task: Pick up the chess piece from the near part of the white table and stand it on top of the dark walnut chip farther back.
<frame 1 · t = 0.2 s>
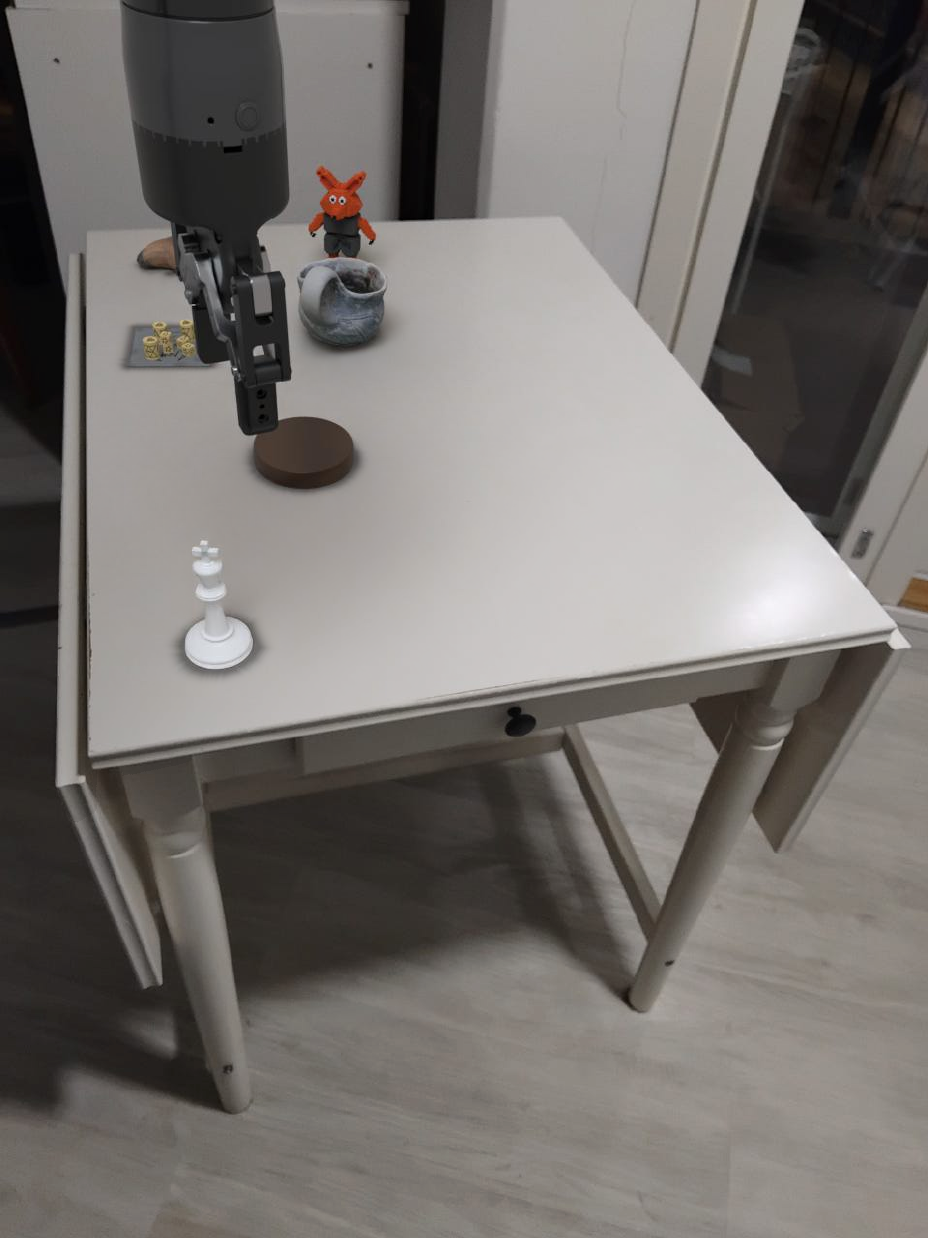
hand: (237, 393, 58), 20 cm above the table, tool pointing down, fingers open, 8 cm apart
mug: (339, 345, 104), on the table
brown rounded lump: (182, 268, 114), on the table
dice set: (172, 348, 100), on the table
toy animal: (340, 278, 115), on the table
chess piece: (219, 647, 71), on the table
walnut chip: (304, 459, 88), on the table
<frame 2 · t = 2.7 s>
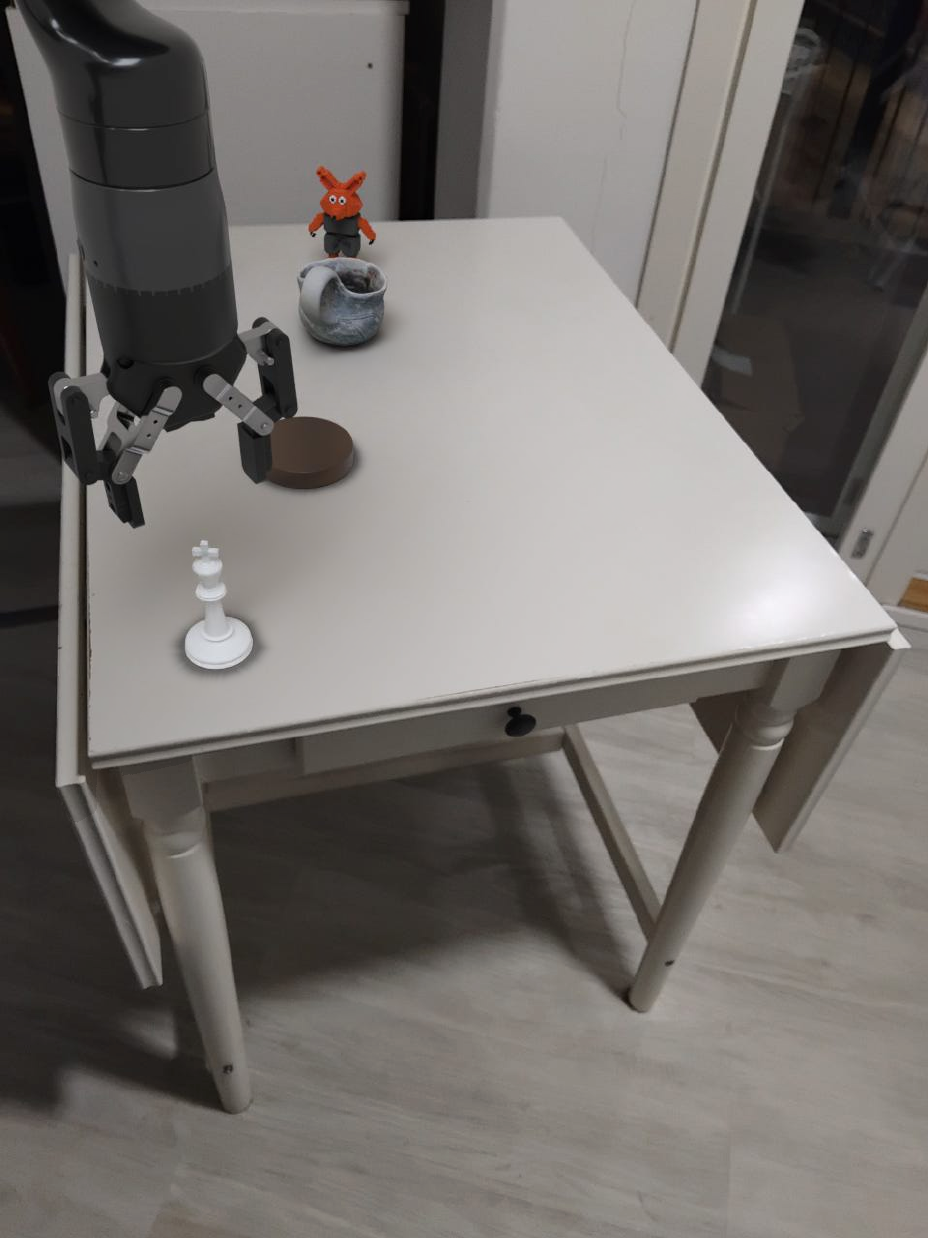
hand: (196, 497, 61), 14 cm above the table, tool pointing down, fingers open, 8 cm apart
nothing on the table moved.
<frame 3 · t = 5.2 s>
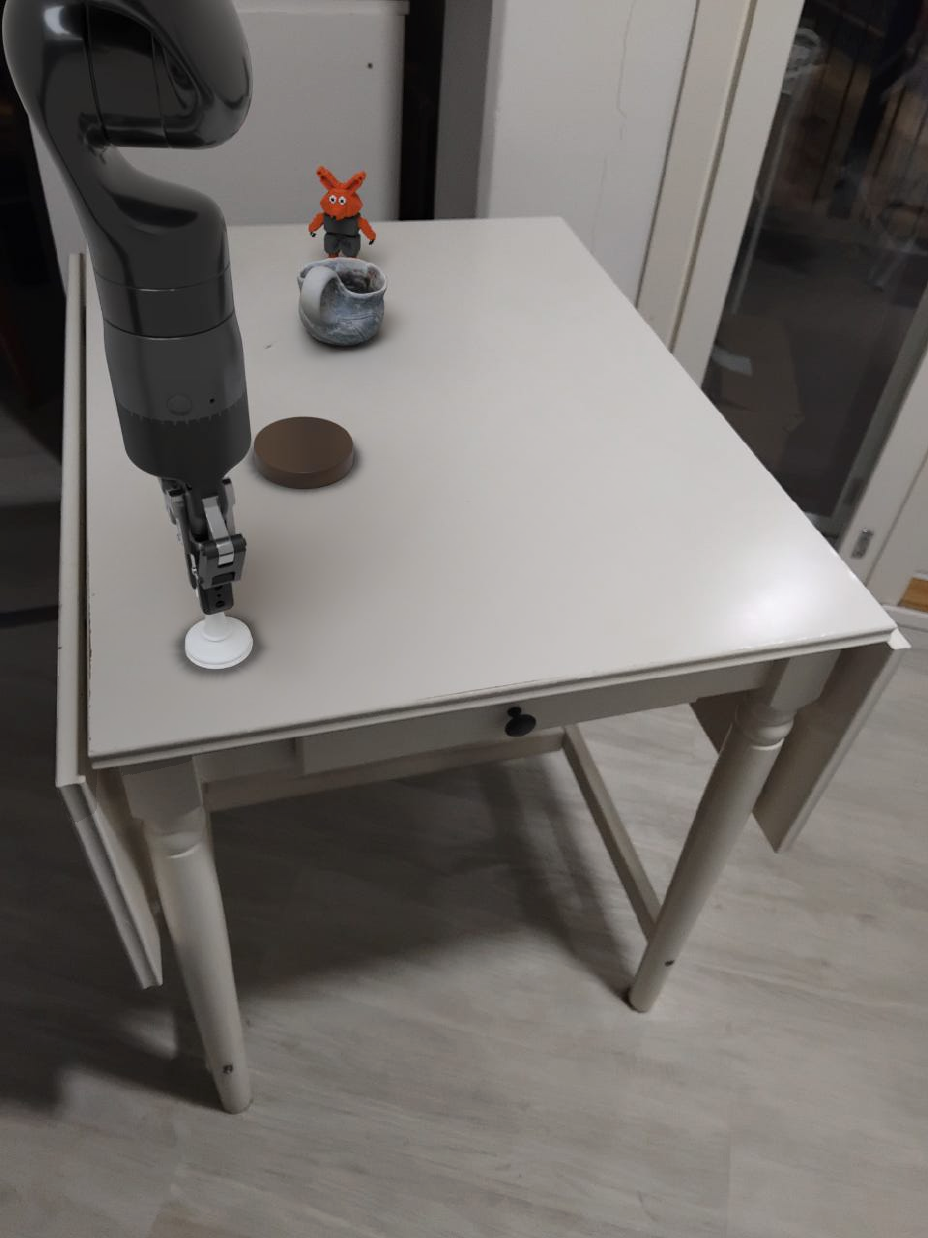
hand: (211, 595, 67), 5 cm above the table, tool pointing down, fingers closed on chess piece
chess piece: (219, 647, 71), on the table, touching gripper
everything else where it was.
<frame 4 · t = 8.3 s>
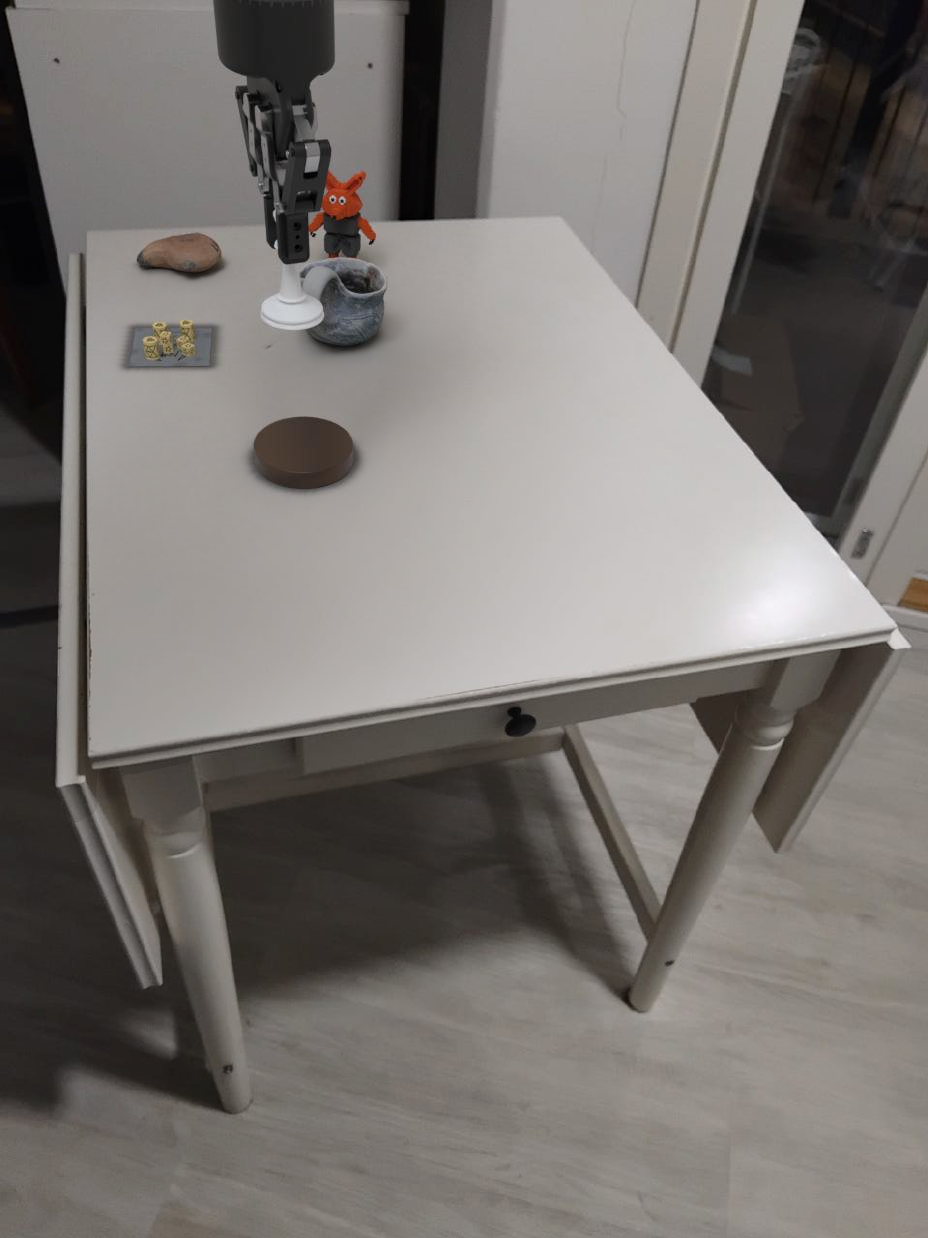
hand: (288, 252, 71), 21 cm above the table, tool pointing down, fingers closed on chess piece
chess piece: (292, 317, 75), point 16 cm above the table, touching gripper
everything else where it was.
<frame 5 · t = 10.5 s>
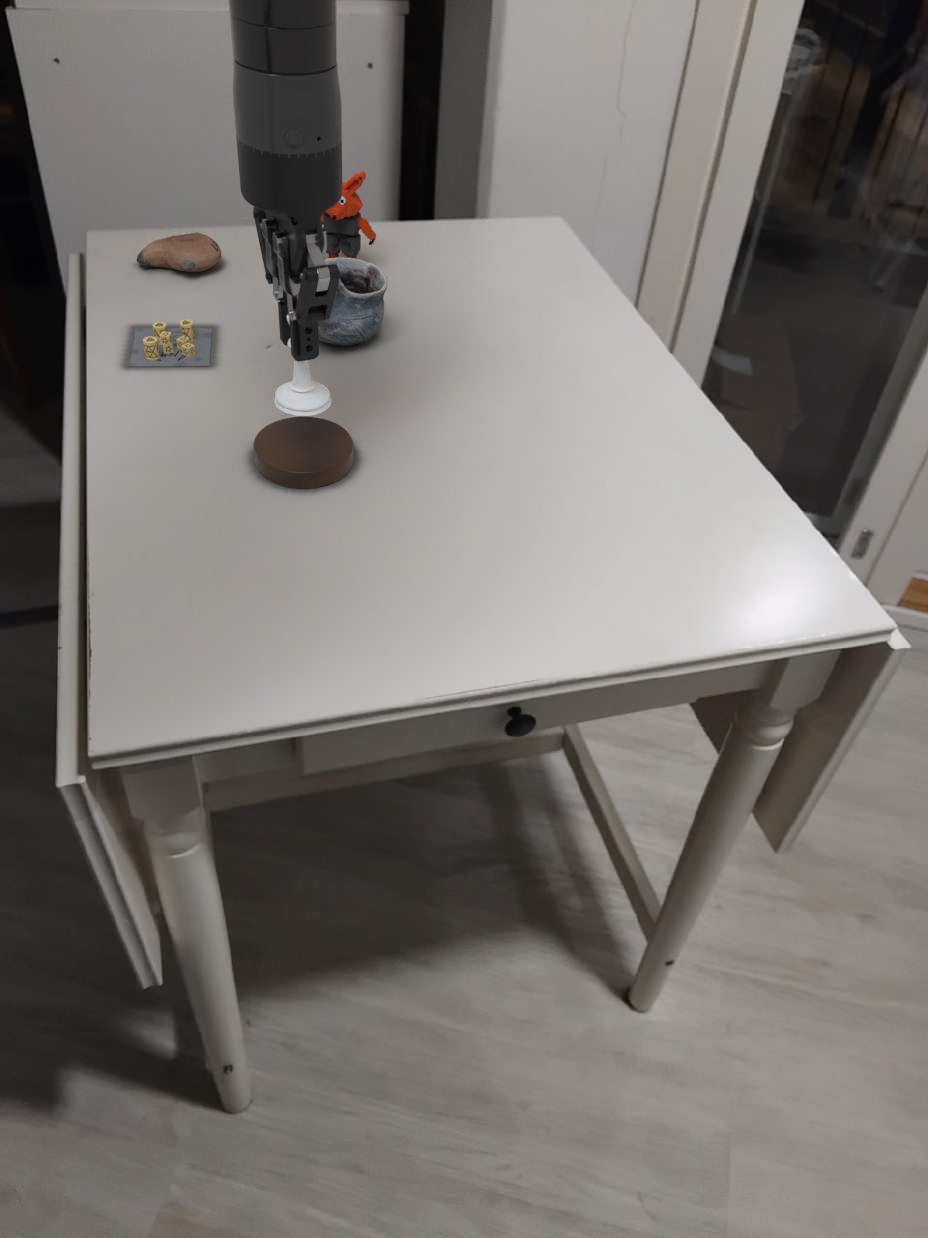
hand: (299, 349, 80), 11 cm above the table, tool pointing down, fingers closed on chess piece
chess piece: (303, 403, 84), point 6 cm above the table, touching gripper
everything else where it was.
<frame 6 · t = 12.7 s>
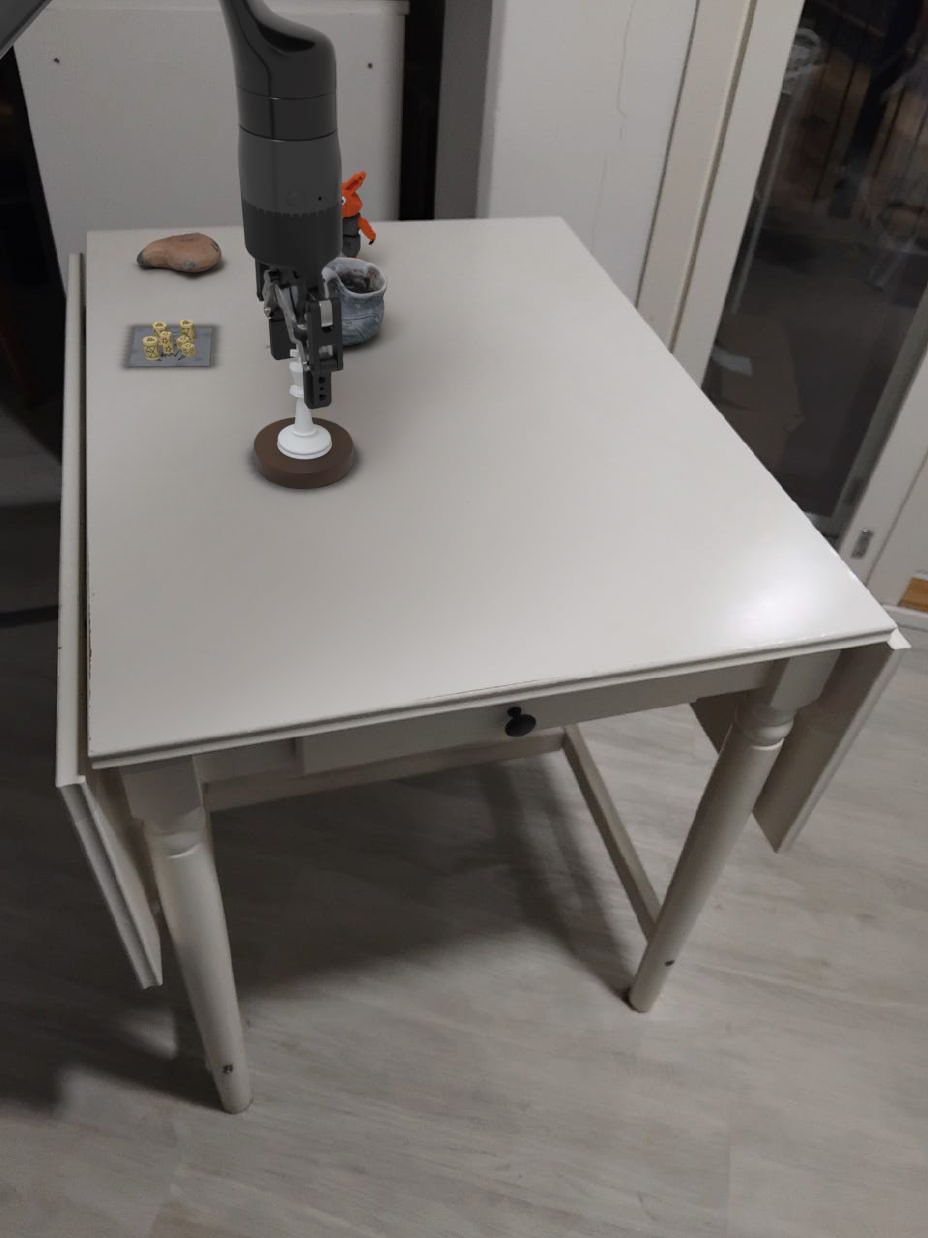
hand: (300, 380, 82), 8 cm above the table, tool pointing down, fingers open, 8 cm apart
chess piece: (304, 445, 87), point 2 cm above the table, touching walnut chip
walnut chip: (304, 459, 88), on the table, touching chess piece
everything else where it was.
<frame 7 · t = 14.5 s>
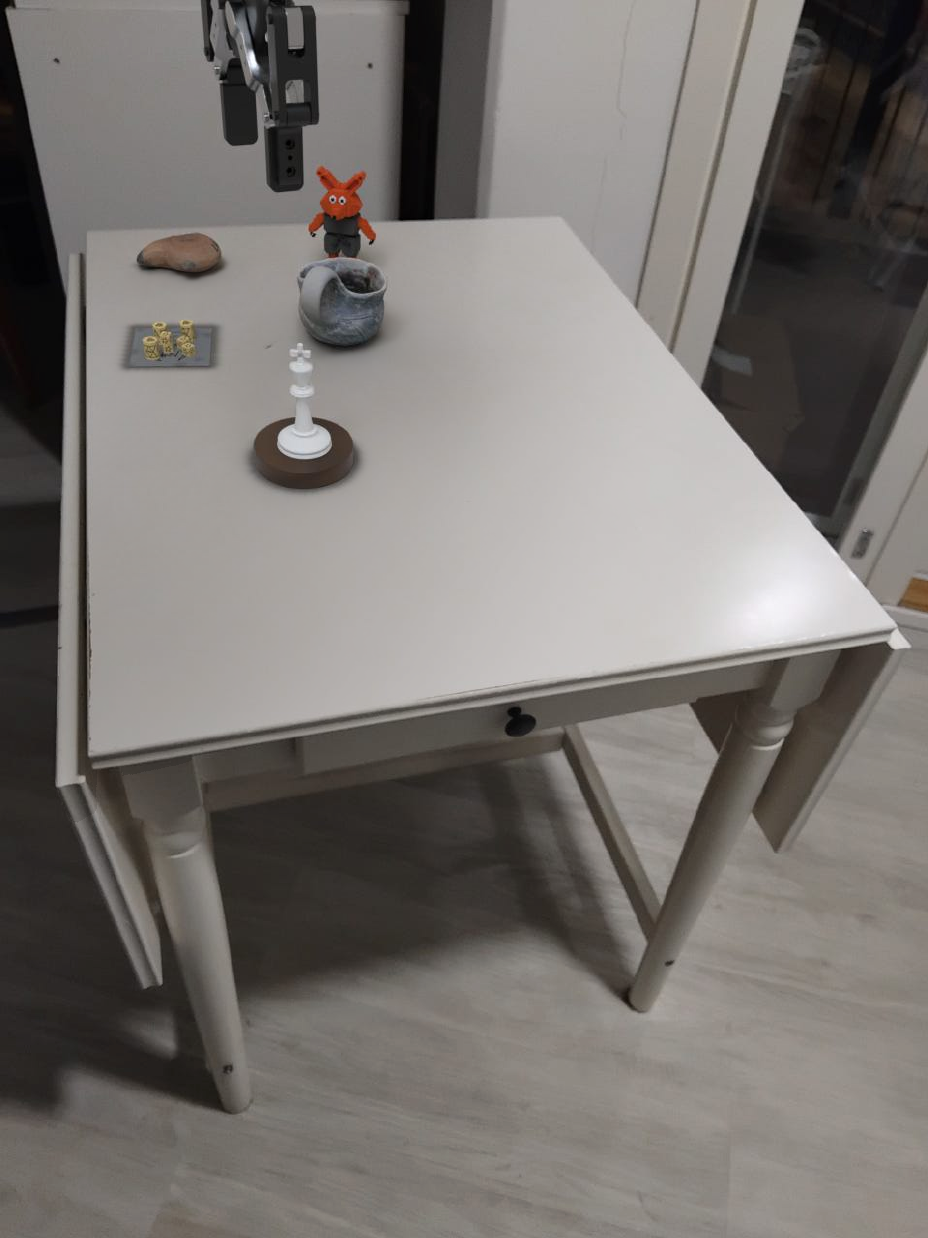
hand: (262, 165, 62), 29 cm above the table, tool pointing down, fingers open, 8 cm apart
nothing on the table moved.
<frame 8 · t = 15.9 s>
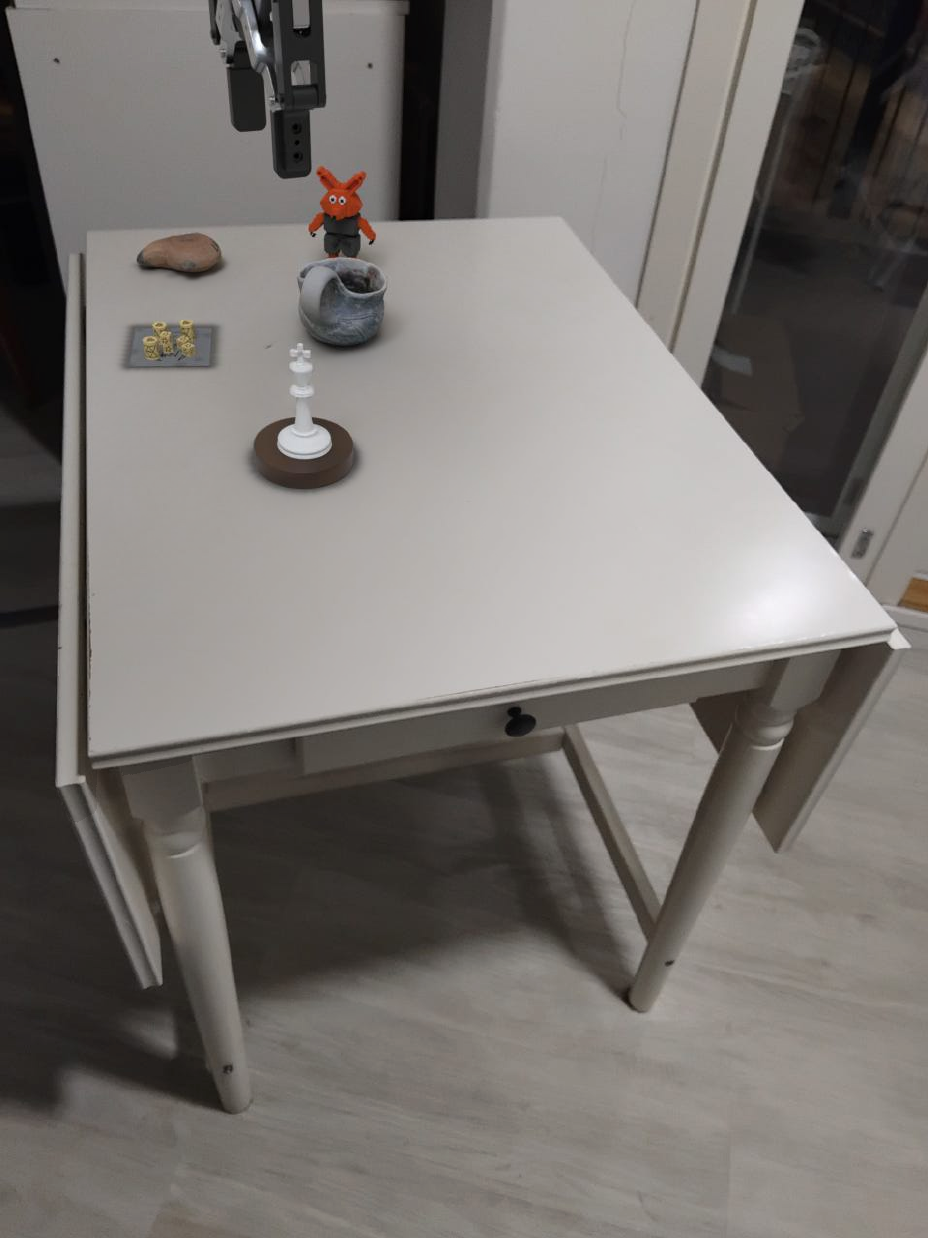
hand: (270, 151, 60), 30 cm above the table, tool pointing down, fingers open, 8 cm apart
nothing on the table moved.
at the end: chess piece 0.2 cm off-centre on the walnut chip, point 1.6 cm above the walnut chip's base; chess piece tilted 0°; the gripper is holding nothing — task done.
